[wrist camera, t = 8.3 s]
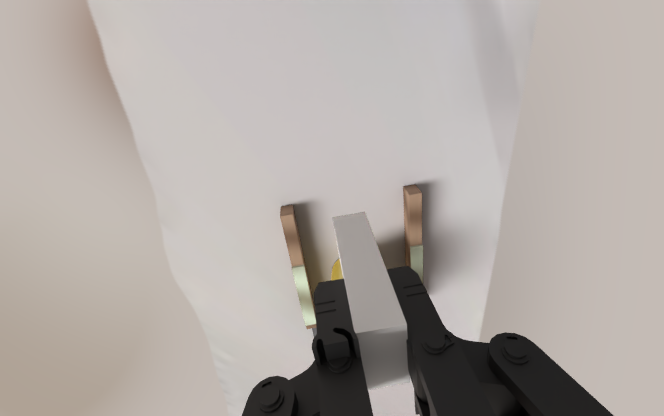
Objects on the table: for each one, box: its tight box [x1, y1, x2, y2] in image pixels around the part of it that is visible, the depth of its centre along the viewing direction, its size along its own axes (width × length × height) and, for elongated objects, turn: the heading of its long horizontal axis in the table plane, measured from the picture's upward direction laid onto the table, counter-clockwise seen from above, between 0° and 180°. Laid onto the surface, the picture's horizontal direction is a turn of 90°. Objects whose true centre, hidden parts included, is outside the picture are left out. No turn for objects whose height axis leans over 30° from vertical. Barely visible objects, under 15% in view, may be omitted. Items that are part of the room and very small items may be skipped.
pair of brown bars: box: [280, 185, 423, 329], centre depth 45 cm, size 19×17×3 cm
